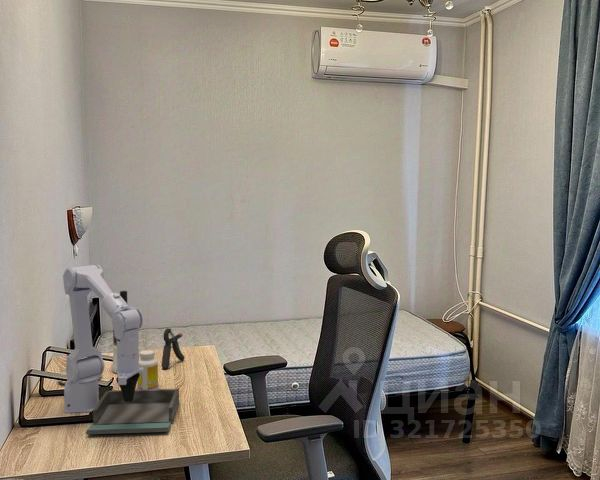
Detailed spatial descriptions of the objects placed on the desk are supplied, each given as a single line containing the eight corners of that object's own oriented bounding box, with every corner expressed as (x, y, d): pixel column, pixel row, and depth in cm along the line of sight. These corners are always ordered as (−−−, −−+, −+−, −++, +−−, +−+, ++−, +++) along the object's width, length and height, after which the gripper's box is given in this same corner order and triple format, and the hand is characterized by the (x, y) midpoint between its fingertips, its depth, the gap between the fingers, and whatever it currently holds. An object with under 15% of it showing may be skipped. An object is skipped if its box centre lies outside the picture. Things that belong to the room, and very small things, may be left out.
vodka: (127, 376, 192) (125, 294, 190) (106, 372, 196) (104, 292, 193) (143, 368, 201) (141, 289, 198) (123, 365, 204) (121, 287, 202)
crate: (92, 427, 150) (92, 410, 150) (106, 406, 165) (106, 390, 165) (172, 424, 153) (172, 407, 152) (179, 404, 167) (178, 388, 167)
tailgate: (92, 429, 149) (86, 434, 144) (92, 425, 149) (86, 430, 144) (170, 426, 151) (167, 431, 146) (170, 422, 151) (167, 427, 146)
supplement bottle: (161, 386, 183) (160, 349, 181) (154, 393, 176) (153, 355, 175) (142, 385, 183) (141, 348, 182) (134, 392, 177) (133, 354, 176)
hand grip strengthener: (185, 360, 210) (185, 323, 209) (166, 370, 199) (165, 331, 197) (180, 360, 211) (180, 322, 210) (161, 369, 200) (160, 330, 198)
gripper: (137, 361, 140) (138, 411, 141) (147, 345, 154) (148, 390, 156) (109, 361, 139) (110, 411, 141) (122, 345, 154) (123, 391, 155)
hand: (128, 400), depth 148 cm, fingers closed
